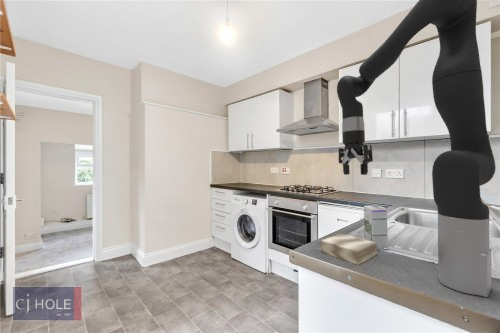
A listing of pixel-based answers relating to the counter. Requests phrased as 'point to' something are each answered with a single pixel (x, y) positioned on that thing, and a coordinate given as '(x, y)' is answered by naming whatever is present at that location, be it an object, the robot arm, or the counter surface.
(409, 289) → the counter surface
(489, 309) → the counter surface
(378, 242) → the syrup box
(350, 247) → the beige flat block
